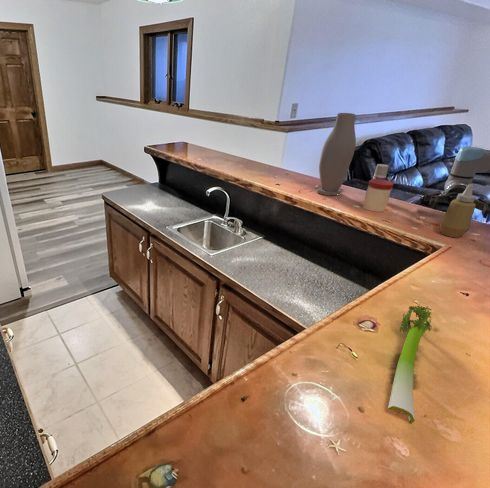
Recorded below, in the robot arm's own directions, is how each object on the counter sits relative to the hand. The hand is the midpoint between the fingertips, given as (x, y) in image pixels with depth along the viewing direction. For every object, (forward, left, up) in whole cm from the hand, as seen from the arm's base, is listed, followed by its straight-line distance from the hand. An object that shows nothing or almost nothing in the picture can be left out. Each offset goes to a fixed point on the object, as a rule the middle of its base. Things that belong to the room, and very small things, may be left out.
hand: (460, 209), depth 116 cm
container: (+27, -30, -10) cm, 42 cm away
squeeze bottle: (-1, -3, -10) cm, 11 cm away
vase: (+45, -26, -10) cm, 53 cm away
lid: (+25, -16, +1) cm, 30 cm away
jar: (+25, -16, -10) cm, 32 cm away
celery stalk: (+8, +78, -10) cm, 79 cm away
